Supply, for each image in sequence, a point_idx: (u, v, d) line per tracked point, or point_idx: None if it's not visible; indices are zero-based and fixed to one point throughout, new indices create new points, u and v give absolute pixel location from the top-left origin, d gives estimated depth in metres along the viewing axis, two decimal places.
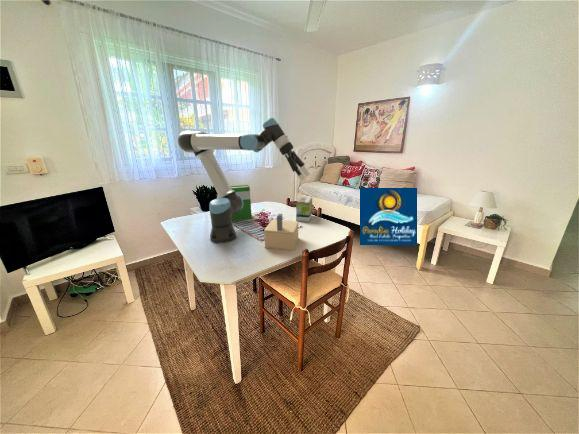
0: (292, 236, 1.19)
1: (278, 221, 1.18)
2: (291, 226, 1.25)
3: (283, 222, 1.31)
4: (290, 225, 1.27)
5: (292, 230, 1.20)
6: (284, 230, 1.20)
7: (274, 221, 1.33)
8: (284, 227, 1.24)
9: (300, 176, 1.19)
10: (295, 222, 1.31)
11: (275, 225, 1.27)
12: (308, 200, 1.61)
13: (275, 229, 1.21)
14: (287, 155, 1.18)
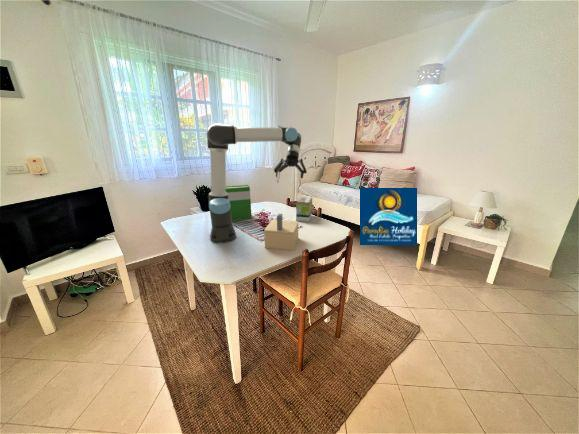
0: (292, 236, 1.19)
1: (278, 221, 1.18)
2: (291, 226, 1.25)
3: (283, 222, 1.31)
4: (290, 225, 1.27)
5: (292, 230, 1.20)
6: (284, 230, 1.20)
7: (274, 221, 1.33)
8: (284, 227, 1.24)
9: (300, 178, 1.34)
10: (295, 222, 1.31)
11: (275, 225, 1.27)
12: (308, 200, 1.61)
13: (275, 229, 1.21)
14: (302, 161, 1.40)
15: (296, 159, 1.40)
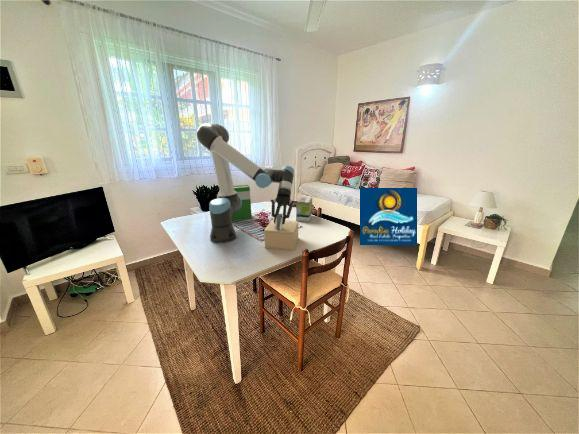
0: (292, 236, 1.19)
1: (278, 221, 1.18)
2: (291, 226, 1.25)
3: None
4: (290, 225, 1.27)
5: (292, 230, 1.20)
6: (284, 230, 1.20)
7: None
8: (284, 227, 1.24)
9: (281, 224, 1.18)
10: (295, 222, 1.31)
11: None
12: (308, 200, 1.61)
13: None
14: (293, 204, 1.23)
15: (288, 198, 1.24)
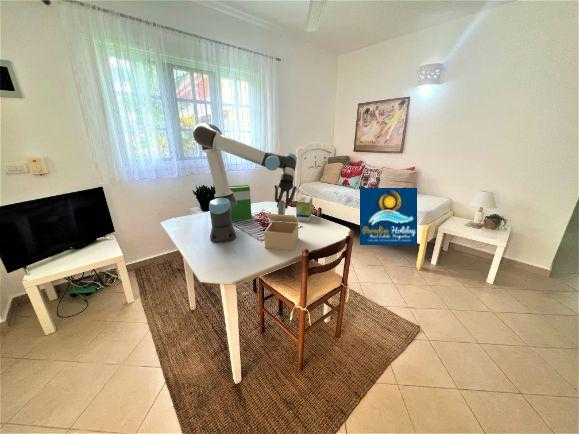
0: (292, 236, 1.19)
1: (280, 205, 1.21)
2: None
3: None
4: None
5: None
6: None
7: None
8: None
9: (284, 208, 1.23)
10: None
11: None
12: (308, 200, 1.61)
13: None
14: (296, 189, 1.28)
15: (291, 184, 1.28)
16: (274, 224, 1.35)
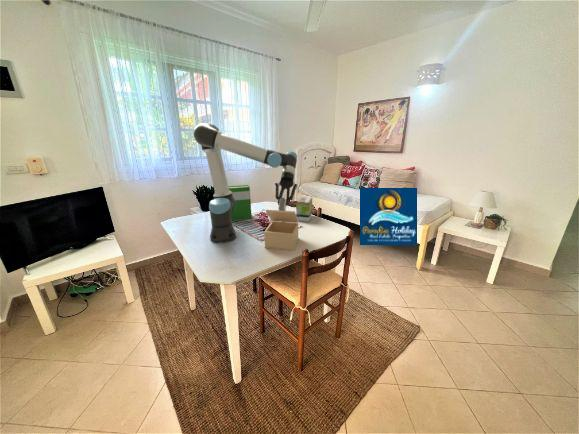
0: (292, 236, 1.19)
1: (281, 202, 1.22)
2: None
3: None
4: None
5: None
6: None
7: None
8: None
9: (285, 206, 1.24)
10: None
11: None
12: (308, 200, 1.61)
13: None
14: (296, 187, 1.29)
15: (292, 181, 1.30)
16: (274, 224, 1.35)
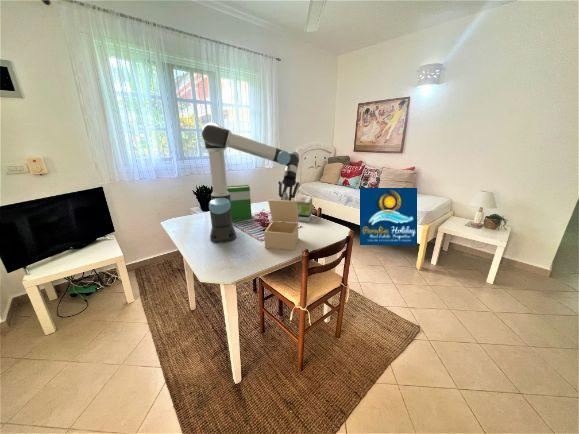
0: (292, 236, 1.19)
1: (284, 195, 1.28)
2: None
3: None
4: None
5: None
6: None
7: None
8: None
9: None
10: None
11: None
12: (308, 200, 1.61)
13: None
14: (298, 185, 1.36)
15: (294, 180, 1.37)
16: (274, 224, 1.35)
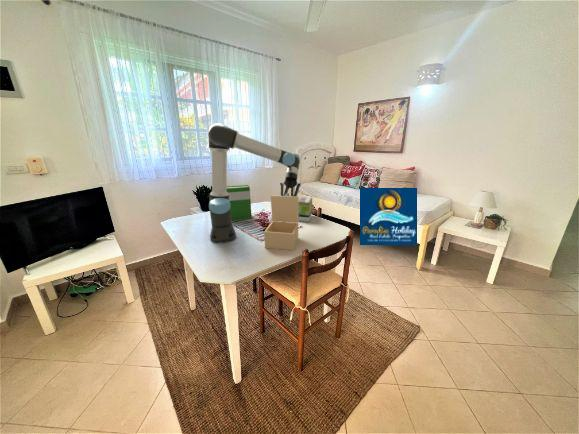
0: (292, 236, 1.19)
1: (286, 194, 1.33)
2: None
3: None
4: None
5: None
6: None
7: None
8: None
9: None
10: None
11: None
12: (308, 200, 1.61)
13: None
14: (299, 186, 1.41)
15: (295, 181, 1.42)
16: (274, 224, 1.35)
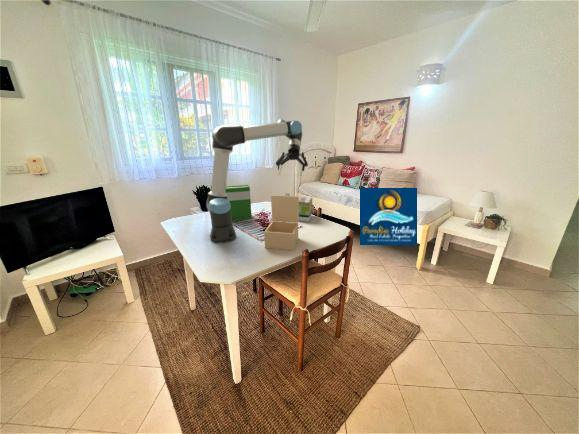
0: (292, 236, 1.19)
1: (286, 194, 1.34)
2: None
3: None
4: None
5: None
6: None
7: None
8: None
9: (301, 170, 1.38)
10: None
11: None
12: (308, 200, 1.61)
13: None
14: (303, 155, 1.44)
15: (297, 153, 1.44)
16: (274, 224, 1.35)
